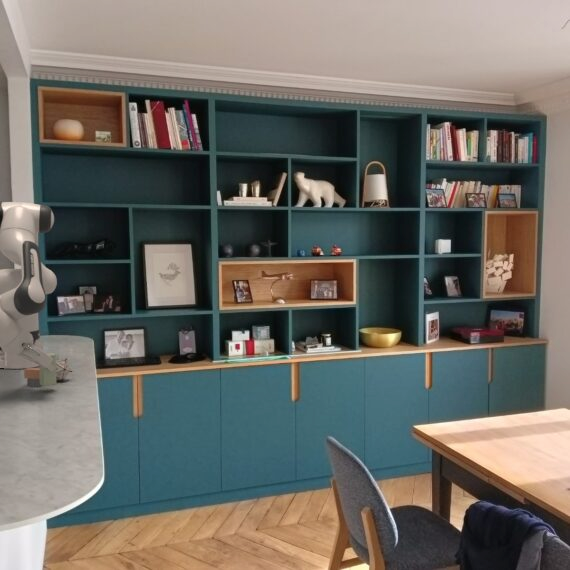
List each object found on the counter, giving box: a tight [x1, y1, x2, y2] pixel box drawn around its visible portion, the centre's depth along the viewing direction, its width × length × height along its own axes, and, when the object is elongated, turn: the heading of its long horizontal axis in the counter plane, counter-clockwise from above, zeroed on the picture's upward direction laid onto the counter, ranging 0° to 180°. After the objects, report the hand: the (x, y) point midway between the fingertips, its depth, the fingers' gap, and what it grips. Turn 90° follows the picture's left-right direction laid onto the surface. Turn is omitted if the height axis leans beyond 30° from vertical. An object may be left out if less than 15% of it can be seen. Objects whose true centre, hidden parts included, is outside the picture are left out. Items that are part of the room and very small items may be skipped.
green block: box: [38, 352, 57, 387], centre depth 190 cm, size 4×4×10 cm
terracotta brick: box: [23, 367, 40, 379], centre depth 198 cm, size 6×3×3 cm, turn 84°
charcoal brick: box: [26, 378, 42, 389], centre depth 198 cm, size 6×3×3 cm, turn 45°
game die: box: [56, 358, 73, 383], centre depth 205 cm, size 9×8×10 cm
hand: (49, 367), depth 191 cm, fingers closed on green block, 4 cm apart
